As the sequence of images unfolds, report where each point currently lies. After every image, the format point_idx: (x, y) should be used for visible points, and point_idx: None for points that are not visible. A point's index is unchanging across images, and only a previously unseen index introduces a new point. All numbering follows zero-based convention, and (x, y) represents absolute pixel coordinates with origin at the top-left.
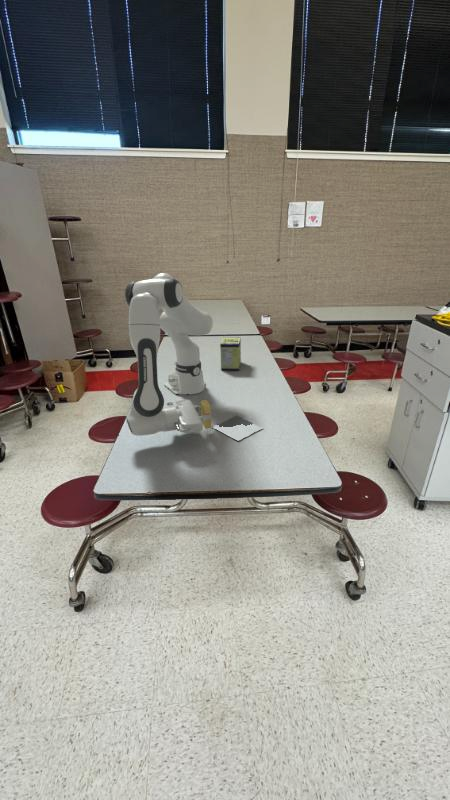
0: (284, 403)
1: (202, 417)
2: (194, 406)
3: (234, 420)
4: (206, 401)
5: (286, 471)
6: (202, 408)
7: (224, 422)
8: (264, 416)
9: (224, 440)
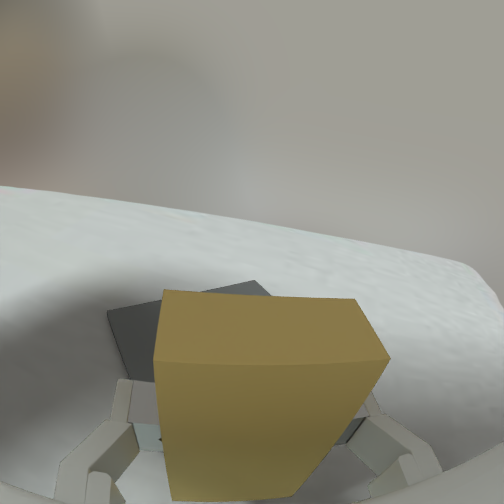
0: (124, 210)
1: (430, 447)
2: (82, 494)
3: (147, 333)
4: (214, 303)
5: (468, 303)
6: (255, 419)
7: (143, 375)
8: (167, 256)
9: None
